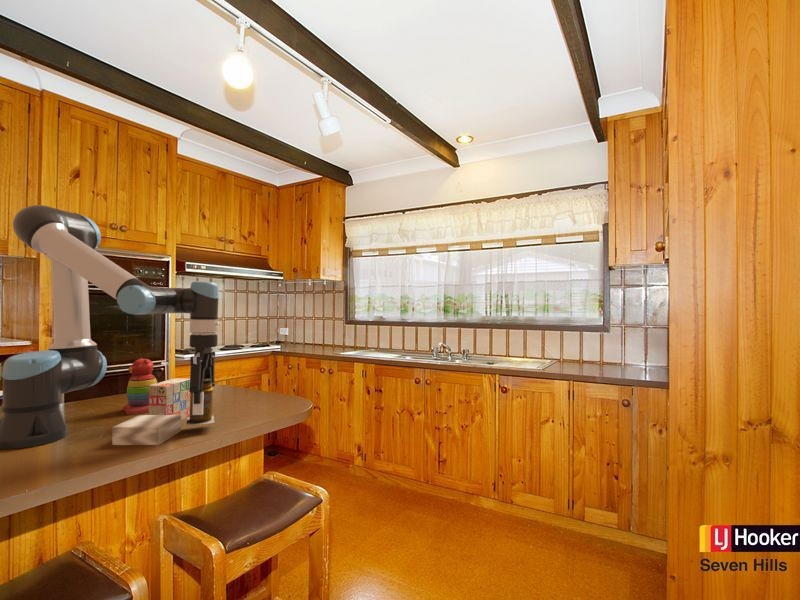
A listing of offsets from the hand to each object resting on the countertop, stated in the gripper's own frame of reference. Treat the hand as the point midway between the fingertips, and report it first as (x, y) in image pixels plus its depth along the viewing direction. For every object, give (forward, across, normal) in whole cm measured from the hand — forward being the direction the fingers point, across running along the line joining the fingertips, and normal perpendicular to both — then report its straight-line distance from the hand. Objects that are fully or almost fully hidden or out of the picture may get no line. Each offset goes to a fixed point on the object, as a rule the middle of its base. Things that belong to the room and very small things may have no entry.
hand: (202, 411), depth 125 cm
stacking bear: (+6, +24, +29) cm, 38 cm away
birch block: (+6, -7, +12) cm, 15 cm away
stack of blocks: (+6, +16, +12) cm, 21 cm away
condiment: (+3, -1, 0) cm, 3 cm away
